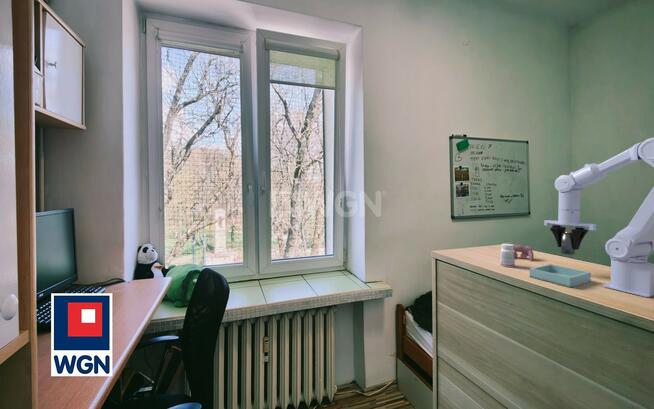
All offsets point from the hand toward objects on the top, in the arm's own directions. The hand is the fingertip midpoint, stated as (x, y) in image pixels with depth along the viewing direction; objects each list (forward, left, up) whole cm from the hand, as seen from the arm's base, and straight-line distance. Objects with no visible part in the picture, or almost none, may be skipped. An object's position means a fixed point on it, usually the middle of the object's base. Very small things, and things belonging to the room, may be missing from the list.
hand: (568, 248), depth 99 cm
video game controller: (+20, -5, -9) cm, 22 cm away
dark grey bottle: (0, 0, -2) cm, 2 cm away
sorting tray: (-2, +10, -9) cm, 14 cm away
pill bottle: (+16, +9, -9) cm, 20 cm away
